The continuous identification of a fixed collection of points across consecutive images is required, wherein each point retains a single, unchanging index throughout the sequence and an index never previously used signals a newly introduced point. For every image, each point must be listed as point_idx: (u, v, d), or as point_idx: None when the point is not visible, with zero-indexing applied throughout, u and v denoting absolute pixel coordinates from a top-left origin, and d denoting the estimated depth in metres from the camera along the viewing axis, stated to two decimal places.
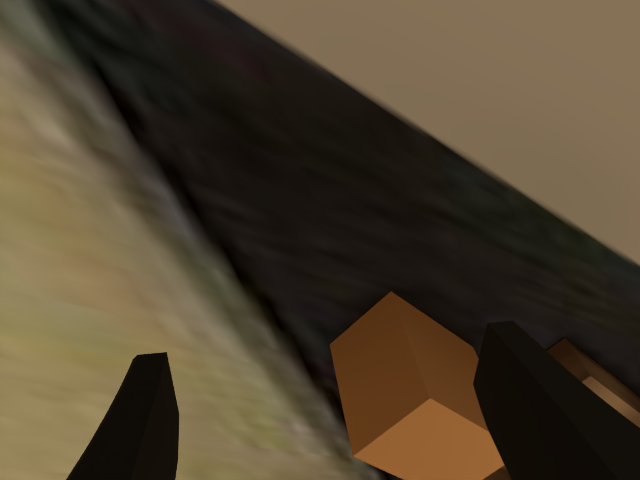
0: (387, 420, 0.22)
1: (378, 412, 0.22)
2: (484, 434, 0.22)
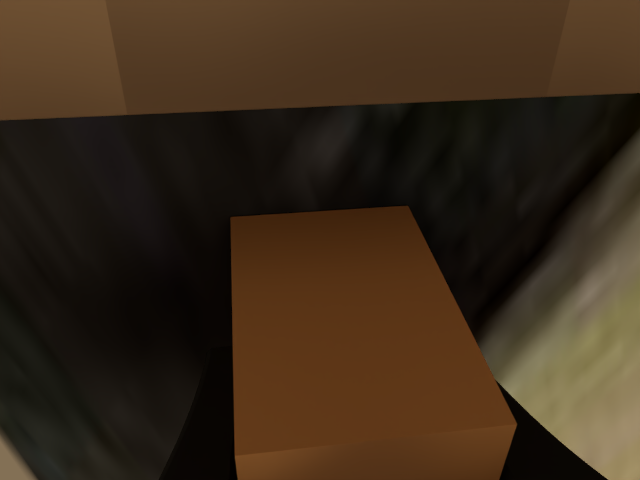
0: None
1: None
2: None
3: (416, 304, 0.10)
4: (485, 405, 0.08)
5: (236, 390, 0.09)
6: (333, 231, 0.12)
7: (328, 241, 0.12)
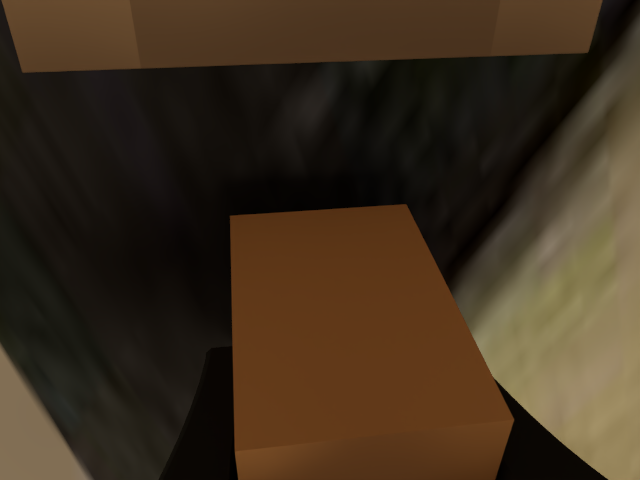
0: None
1: None
2: None
3: (415, 302, 0.10)
4: (482, 401, 0.09)
5: (236, 387, 0.09)
6: (332, 229, 0.12)
7: (327, 240, 0.12)
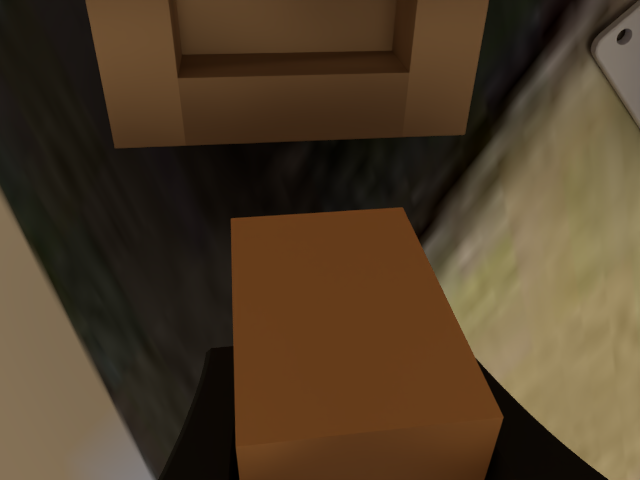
0: None
1: None
2: None
3: (410, 303, 0.11)
4: (474, 400, 0.09)
5: (236, 385, 0.09)
6: (330, 232, 0.13)
7: (325, 242, 0.12)
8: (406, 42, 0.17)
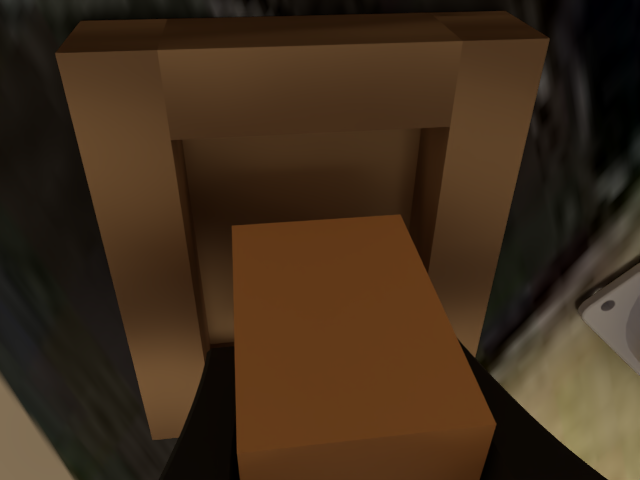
0: None
1: None
2: None
3: (406, 311, 0.11)
4: (467, 407, 0.09)
5: (238, 392, 0.09)
6: (329, 240, 0.13)
7: (324, 250, 0.13)
8: None
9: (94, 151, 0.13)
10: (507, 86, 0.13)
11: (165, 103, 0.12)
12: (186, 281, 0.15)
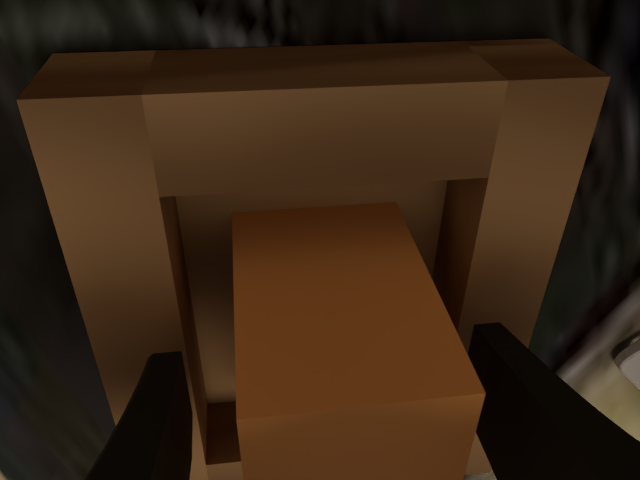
0: None
1: None
2: None
3: (400, 291, 0.11)
4: (458, 377, 0.10)
5: (237, 365, 0.10)
6: (326, 225, 0.13)
7: (321, 234, 0.13)
8: None
9: (67, 211, 0.11)
10: (558, 131, 0.11)
11: (152, 155, 0.10)
12: (179, 350, 0.13)
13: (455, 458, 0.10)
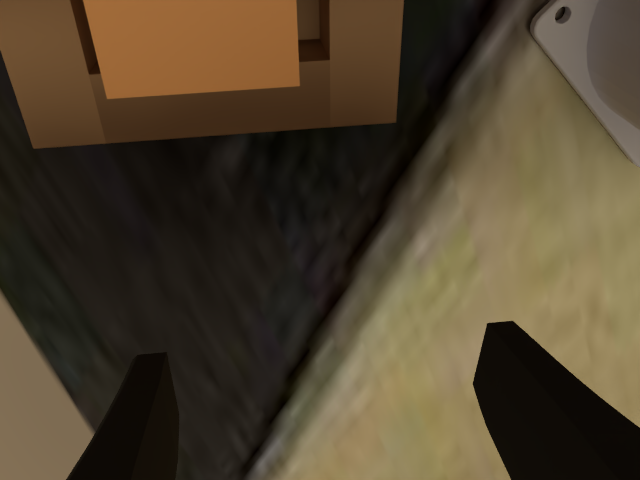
0: (206, 86, 0.12)
1: None
2: None
3: None
4: None
5: None
6: None
7: None
8: (326, 29, 0.16)
9: None
10: None
11: None
12: None
13: None
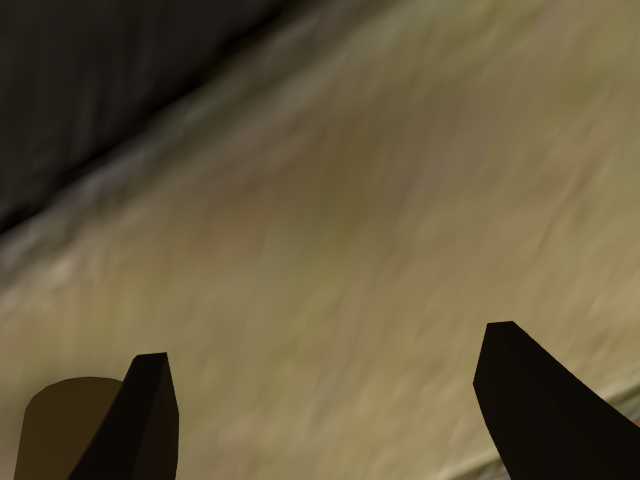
0: None
1: None
2: None
3: None
4: None
5: None
6: None
7: None
8: None
9: None
10: None
11: None
12: None
13: None
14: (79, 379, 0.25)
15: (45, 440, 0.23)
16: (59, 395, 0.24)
